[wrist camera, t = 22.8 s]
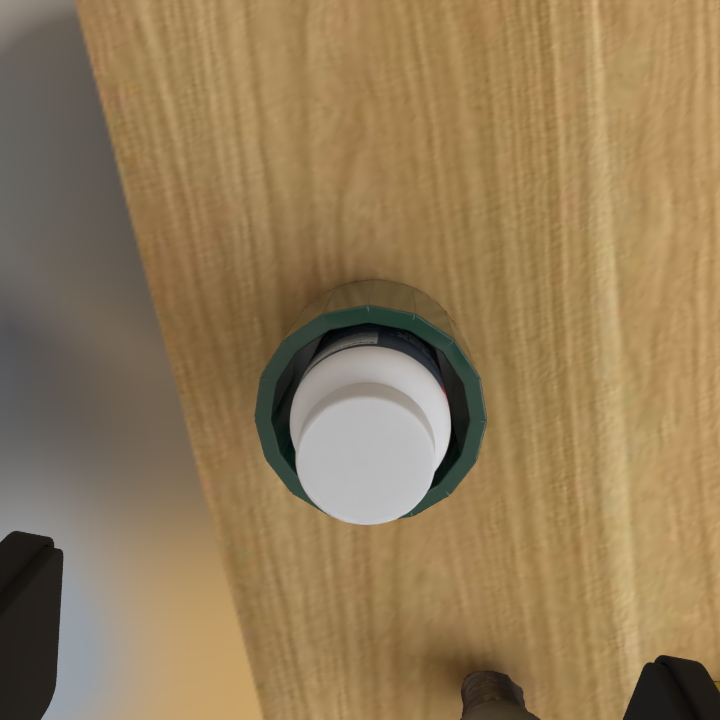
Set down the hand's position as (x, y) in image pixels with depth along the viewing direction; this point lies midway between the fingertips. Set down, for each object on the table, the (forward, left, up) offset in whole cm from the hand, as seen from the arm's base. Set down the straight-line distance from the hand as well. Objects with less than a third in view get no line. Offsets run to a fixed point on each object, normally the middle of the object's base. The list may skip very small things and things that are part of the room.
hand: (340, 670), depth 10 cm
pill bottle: (0, 0, -17) cm, 17 cm away
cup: (0, -1, -18) cm, 18 cm away
